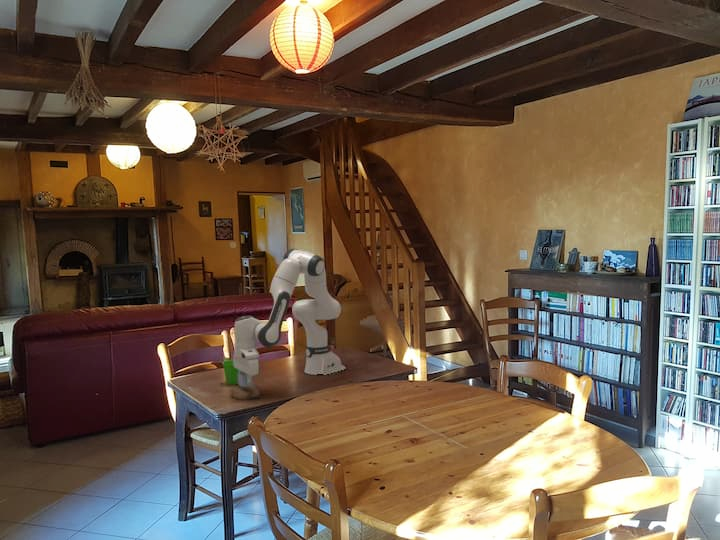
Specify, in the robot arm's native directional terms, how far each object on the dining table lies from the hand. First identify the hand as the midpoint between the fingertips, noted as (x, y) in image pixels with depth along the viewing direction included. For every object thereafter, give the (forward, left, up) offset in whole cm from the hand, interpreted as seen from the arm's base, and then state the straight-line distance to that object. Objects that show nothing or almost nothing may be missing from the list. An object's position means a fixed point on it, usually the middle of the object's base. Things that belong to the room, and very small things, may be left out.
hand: (245, 380), depth 234 cm
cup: (-2, -21, -7) cm, 23 cm away
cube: (0, 0, -2) cm, 2 cm away
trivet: (0, 0, -7) cm, 7 cm away
